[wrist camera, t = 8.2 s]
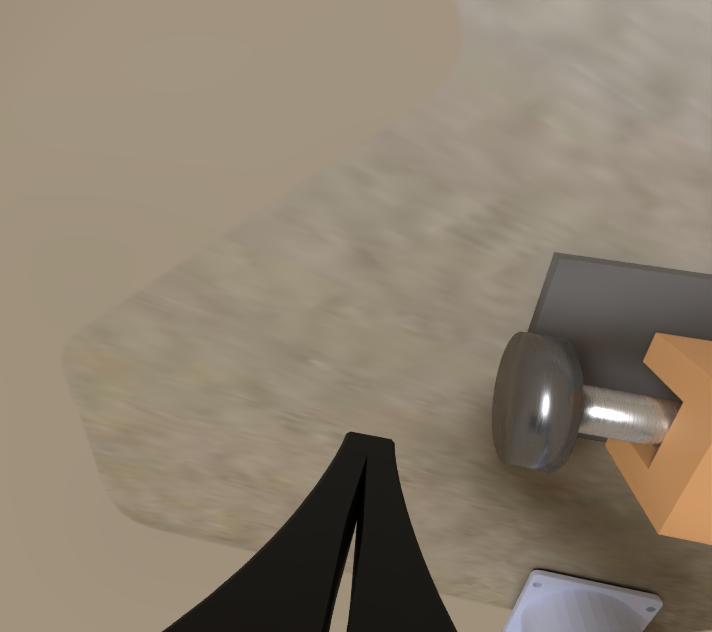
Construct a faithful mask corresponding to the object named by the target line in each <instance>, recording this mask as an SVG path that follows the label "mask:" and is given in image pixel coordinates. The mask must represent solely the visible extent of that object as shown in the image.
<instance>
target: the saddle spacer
mask: <svg viewBox="0 0 712 632" xmlns="http://www.w3.org/2000/svg"><path fill="white" fill-rule="evenodd" d="M643 362H644V363H645V364H646V365H647V366H648V367H649V368H650V369H651V370H652V371H653V372H654V373H655V374H656V375H657V376H658V377H659V378H660V379H661V380H662V381H663V382H664V383H665V384H666V385H667V386H668V387H669V388H670V389H671V390H672V391H673V392H674V393H675V394H676V395H677V396H678V397H679V398H680V399H681V400H682V401H683V404H682V406H681V408H680V410H679V411H678V413H677V415H676V417H675V419H674V421H673V423H672V425H671V427H670V429H669V431H668V432H667V435H666V437H665V438H664V440H663V442H662V444H661V446H660V447H655V446H650V445H644V444H639V443H633V442H628V441H622V440H617V439H611V438H608V439H607V442H606V444H605V447H606V448H607V450H608V452H609V453H610V455H611V457H612V458H613V460H614V462H615V463H616V465H617V467H618V468H619V470H620V472H621V473H622V475H623V477H624V478H625V480H626V482H627V483H628V485H629V487H630V488H631V490H632V492H633V493H634V495H635V497H636V498H637V500H638V502H639V503H640V505H641V507H642V508H643V510H644V512H645V513H646V515H647V517H648V518H649V520H650V522H651V523H652V525H653V527H654V528H655V530H656V532H657V533H658V534H660V535H665V536H670V537H675V538H680V539H685V540H690V541H695V542H700V543H705V544H710V545H712V341H708V340H701V339H695V338H688V337H682V336H675V335H669V334H662V333H656V334H655V336H654V338H653V340H652V342H651V345H650V347H649V349H648V351H647V353H646V356H645V358H644V360H643Z"/></svg>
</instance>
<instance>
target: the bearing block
mask: <svg viewBox="0 0 712 632" xmlns="http://www.w3.org/2000/svg"><path fill="white" fill-rule="evenodd" d="M527 333H532V334H538V335H544V336H550V337H556V338H563V339H566V340H568V341H569V342H570V343H571V344H572V346H573V347H574V349H575V351H576V352H577V355H578V358H579V361H580V365H581V370H582V377H583V385H589V386H595V387H601V388H606V389H612V390H618V391H624V392H630V393H636V394H642V395H647V396H653V397H659V398H665V399H671V400H677V401H682V400H681V399H680V398H679V397H678V396H677V395H676V394H675V393H674V392H673V391H672V390H671V389H670V388H669V387H668V386H667V385H666V384H665V383H664V382H663V381H662V380H661V379H660V378H659V377H658V376H657V375H656V374H655V373H654V372H653V371H652V370H651V369H650V368H649V367H648V366H647V365H646V364H645V363H644V362H643V360H644V358H645V356H646V353H647V351H648V349H649V347H650V345H651V342H652V340H653V338H654V336H655V334H656V333H662V334H669V335H675V336H682V337H688V338H695V339H701V340H708V341H712V275H710V274H703V273H696V272H689V271H682V270H675V269H667V268H660V267H653V266H646V265H639V264H632V263H625V262H618V261H611V260H604V259H597V258H590V257H583V256H576V255H569V254H562V253H555V252H554V255H553V258H552V261H551V264H550V267H549V270H548V273H547V276H546V279H545V282H544V285H543V288H542V291H541V294H540V297H539V300H538V303H537V306H536V309H535V312H534V315H533V318H532V321H531V324H530V327H529V330H528V332H527ZM577 437H580V438H585V439H591V440H596V441H602V442H607V439H608V438H606V437H600V436H595V435H589V434H584V433H578V435H577Z"/></svg>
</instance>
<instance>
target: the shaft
mask: <svg viewBox="0 0 712 632" xmlns="http://www.w3.org/2000/svg"><path fill="white" fill-rule="evenodd" d="M682 404H683V401H677V400H671V399H665V398H659V397H653V396H647V395H642V394H636V393H630V392H624V391H618V390H612V389H606V388H601V387H595V386H589V385H583V377H582V370H581V365H580V361H579V358H578V355H577V352H576V351H575V349H574V347H573V346H572V344H571V343H570V342H569V341H568V340H566V339H563V338H556V337H550V336H544V335H538V334H532V333H525V332H518V333H516V334H515V335H514V336H513V337H512V338H511V340H510V341H509V343H508V344H507V346H506V349H505V351H504V353H503V356H502V359H501V362H500V365H499V369H498V373H497V378H496V383H495V389H494V396H493V408H492V429H493V439H494V445H495V449H496V452H497V455H498V457H499V459H500V460H501V462H503V463H504V464H508V465H513V466H518V467H524V468H529V469H534V470H539V471H545V472H554V471H556V470H558V469H559V468H561V466H562V465H563V464H564V463H565V462H566V460H567V459H568V457H569V455H570V453H571V451H572V449H573V447H574V444H575V441H576V438H577V435H578V433H584V434H589V435H595V436H600V437H606V438H611V439H617V440H622V441H628V442H633V443H639V444H644V445H650V446H655V447H660V446H661V444H662V442H663V440H664V438H665V437H666V435H667V432H668V431H669V429H670V427H671V425H672V423H673V421H674V419H675V417H676V415H677V413H678V411H679V410H680V408H681V406H682Z"/></svg>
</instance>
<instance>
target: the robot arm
mask: <svg viewBox="0 0 712 632" xmlns="http://www.w3.org/2000/svg"><path fill="white" fill-rule="evenodd" d="M356 522H357V527H356V539H355V552H354V564H353V578H352V590H351V602H350V610H349V618H348V619H349V620H348V625H347V632H457V630H456V628H455V626H454V624H453V622H452V620H451V618H450V616H449V614H448V612H447V610H446V608H445V606H444V604H443V602H442V600H441V598H440V596H439V594H438V591H437V589H436V587H435V584H434V582H433V580H432V578H431V575H430V573H429V570H428V568H427V566H426V563H425V561H424V558H423V556H422V553H421V550H420V548H419V545H418V542H417V539H416V536H415V533H414V530H413V527H412V524H411V521H410V518H409V515H408V512H407V508H406V504H405V501H404V497H403V493H402V489H401V485H400V481H399V476H398V471H397V465H396V458H395V443H394V442H393V441H392V439H387V438H382V437H376V436H371V435H366V434H361V433H355V432H349V433H347V434H346V436H345V438H344V441H343V443H342V445H341V447H340V449H339V450H338V452H337V454H336V456H335V457H334V459H333V461H332V462H331V464H330V465H329V467H328V468H327V470H326V471H325V473H324V474H323V476H322V477H321V479H320V480H319V482H318V483H317V485H316V486H315V487H314V489H313V490H312V491H311V492H310V494H309V495H308V496H307V498H306V499H305V500H304V501H303V503H302V504H301V505H300V507H299V508H298V509H297V510H296V511H295V513H294V514H293V515H292V516H291V517H290V519H289V520H288V521H287V522H286V523H285V524H284V525H283V526H282V527H281V529H280V530H279V531H278V532H277V533H276V534H275V535H274V536H273V537H272V538H271V539H270V540H269V541H268V542H267V543H266V544H265V545H264V546H263V547H262V548H261V549H260V550H259V551H258V552H257V553H256V554H255V555H254V556H253V557H252V558H251V559H250V560H249V561H248V562H247V563H246V564H245V565H244V566H243V567H242V568H241V569H239V570H238V571H237V572H236V573H235V574H234V575H232V576H231V577H230V578H229V579H228V580H227V581H226V582H224V583H223V584H222V585H221V586H220V587H219V588H217V589H216V590H215V591H214V592H213V593H212V594H210V595H209V596H208V597H207V598H205V599H204V600H203V601H202V602H200V603H199V604H198V605H197V606H195V607H194V608H193V609H192V610H190V611H189V612H187V613H186V614H185V615H183V616H182V617H181V618H179V619H178V620H177V621H176V622H174V623H173V624H172V625H171V626H169V627H168V628H166V629H165V630H164V631H162V632H329V630H330V624H331V619H332V614H333V610H334V605H335V601H336V597H337V593H338V589H339V586H340V582H341V578H342V574H343V571H344V567H345V563H346V559H347V556H348V552H349V548H350V544H351V541H352V537H353V533H354V529H355V526H356ZM662 605H663V603H662V601H661V599H660V597H659V596H657V595H655V594H650V593H646V592H641V591H636V590H632V589H627V588H622V587H617V586H613V585H608V584H603V583H599V582H594V581H589V580H585V579H580V578H575V577H571V576H566V575H561V574H556V573H552V572H547V571H542V570H534V571H532V572H531V573H530V575H529V578H528V580H527V582H526V584H525V586H524V588H523V590H522V592H521V594H520V596H519V598H518V600H517V602H516V604H515V606H514V608H513V610H512V612H511V614H510V616H509V618H508V621H507V622H506V624H505V626H504V628H503V630H502V632H642V631H643V630H644V629H645V628H646V626H647V625H648V624H649V623H650V621H651V620H652V619H653V617H654V616H655V615H656V614H657V612H658V611H659V610H660V608H661V607H662Z"/></svg>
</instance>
